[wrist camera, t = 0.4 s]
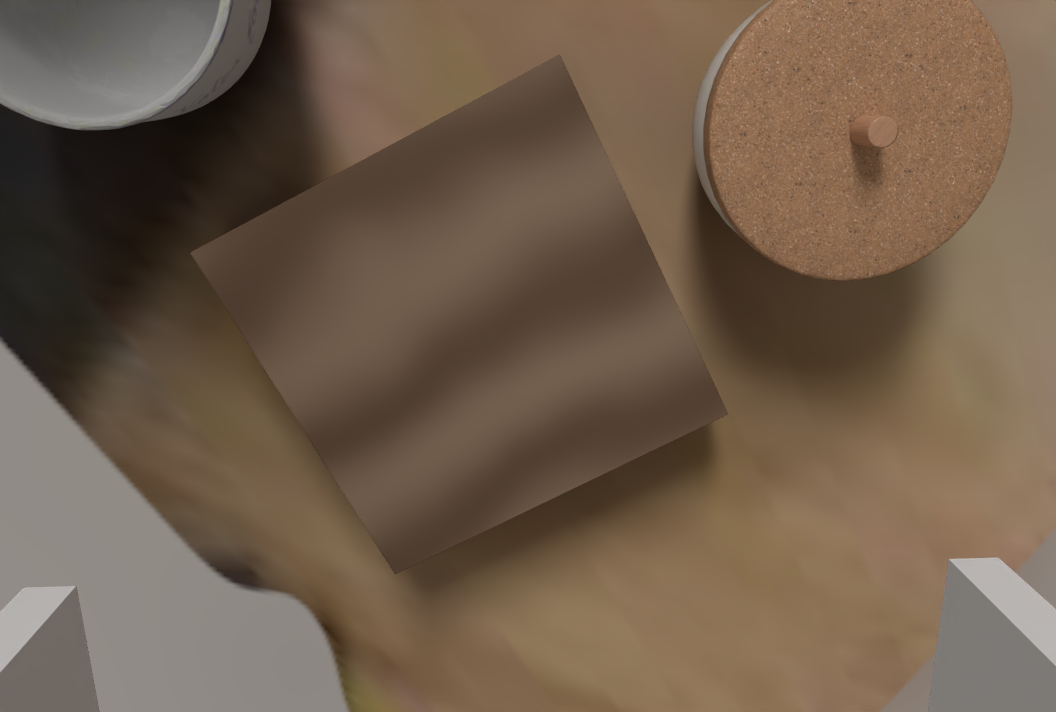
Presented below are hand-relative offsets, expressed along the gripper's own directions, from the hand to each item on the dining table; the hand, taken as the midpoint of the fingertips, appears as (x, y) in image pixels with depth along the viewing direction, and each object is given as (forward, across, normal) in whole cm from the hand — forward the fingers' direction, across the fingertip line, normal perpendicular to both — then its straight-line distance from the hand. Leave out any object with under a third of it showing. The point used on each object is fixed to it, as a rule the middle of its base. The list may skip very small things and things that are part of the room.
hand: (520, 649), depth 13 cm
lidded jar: (+27, +12, +7) cm, 30 cm away
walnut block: (+27, -2, -1) cm, 27 cm away
